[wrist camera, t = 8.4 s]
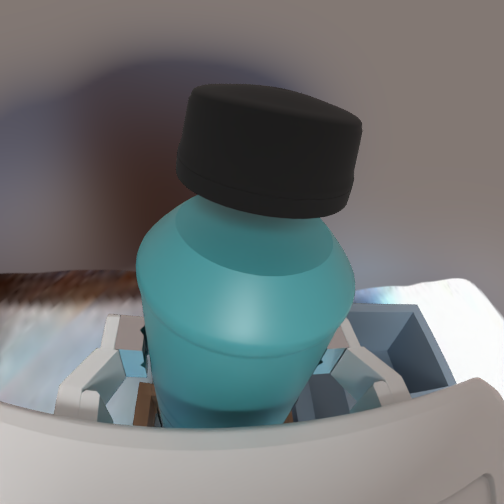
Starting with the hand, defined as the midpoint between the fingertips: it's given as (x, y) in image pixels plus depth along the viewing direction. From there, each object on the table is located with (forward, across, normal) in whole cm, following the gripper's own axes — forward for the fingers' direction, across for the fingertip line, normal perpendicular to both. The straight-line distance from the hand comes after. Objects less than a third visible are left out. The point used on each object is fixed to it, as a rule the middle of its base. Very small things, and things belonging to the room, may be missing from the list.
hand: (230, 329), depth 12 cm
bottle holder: (+5, -17, +19) cm, 26 cm away
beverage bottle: (-1, 0, +11) cm, 11 cm away
